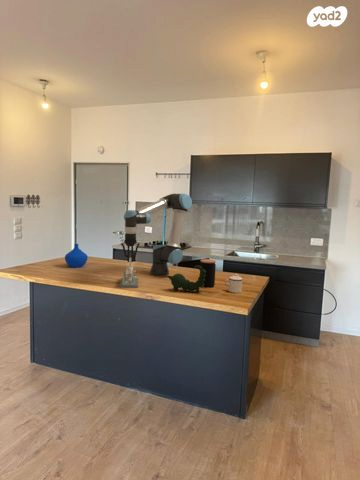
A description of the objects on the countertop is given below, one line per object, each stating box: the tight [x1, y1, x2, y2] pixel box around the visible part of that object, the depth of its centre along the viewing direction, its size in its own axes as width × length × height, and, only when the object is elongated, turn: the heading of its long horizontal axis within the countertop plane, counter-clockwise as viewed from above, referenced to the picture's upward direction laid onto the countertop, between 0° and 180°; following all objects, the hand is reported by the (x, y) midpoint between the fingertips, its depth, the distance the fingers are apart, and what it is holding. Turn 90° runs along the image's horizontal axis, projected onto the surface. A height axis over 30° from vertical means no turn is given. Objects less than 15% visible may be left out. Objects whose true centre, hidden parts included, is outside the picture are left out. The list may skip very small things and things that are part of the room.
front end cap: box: [122, 275, 137, 285], centre depth 220 cm, size 8×3×6 cm, turn 97°
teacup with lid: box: [223, 273, 244, 294], centre depth 221 cm, size 12×9×12 cm
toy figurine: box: [166, 265, 206, 293], centre depth 215 cm, size 9×19×25 cm
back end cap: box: [123, 269, 137, 279], centre depth 238 cm, size 8×3×6 cm, turn 97°
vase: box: [64, 243, 89, 268], centre depth 279 cm, size 18×18×19 cm
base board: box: [119, 277, 139, 289], centre depth 229 cm, size 12×22×2 cm, turn 7°
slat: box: [126, 266, 134, 283], centre depth 229 cm, size 4×22×6 cm, turn 7°
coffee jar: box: [199, 258, 217, 288], centre depth 231 cm, size 11×11×18 cm
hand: (130, 266), depth 228 cm, fingers closed
